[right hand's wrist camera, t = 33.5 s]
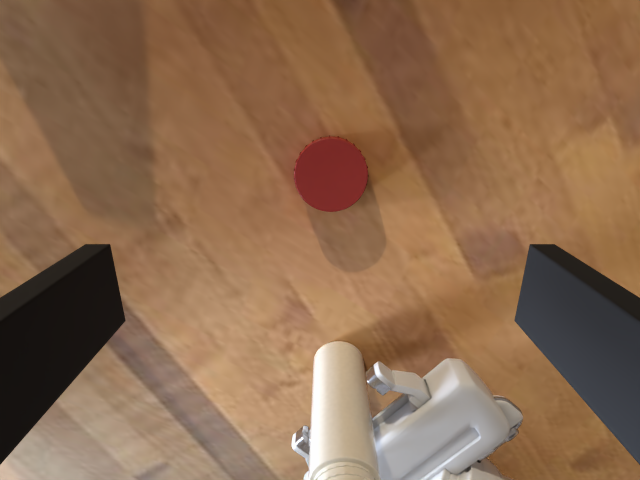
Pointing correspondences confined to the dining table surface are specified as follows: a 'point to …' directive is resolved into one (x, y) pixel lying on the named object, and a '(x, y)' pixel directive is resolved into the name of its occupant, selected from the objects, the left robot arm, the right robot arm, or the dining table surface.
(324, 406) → the jar
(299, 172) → the lid
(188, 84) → the dining table surface
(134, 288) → the dining table surface
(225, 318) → the dining table surface
